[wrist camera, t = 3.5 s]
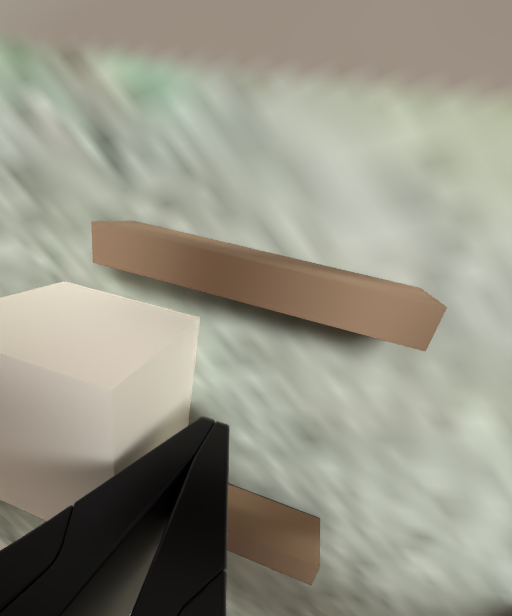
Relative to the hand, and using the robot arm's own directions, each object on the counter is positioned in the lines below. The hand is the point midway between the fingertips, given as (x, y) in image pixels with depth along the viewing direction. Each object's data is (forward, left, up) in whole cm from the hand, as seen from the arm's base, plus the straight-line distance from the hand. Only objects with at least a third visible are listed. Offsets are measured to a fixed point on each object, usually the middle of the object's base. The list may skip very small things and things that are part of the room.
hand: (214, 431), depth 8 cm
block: (+4, 0, -2) cm, 4 cm away
